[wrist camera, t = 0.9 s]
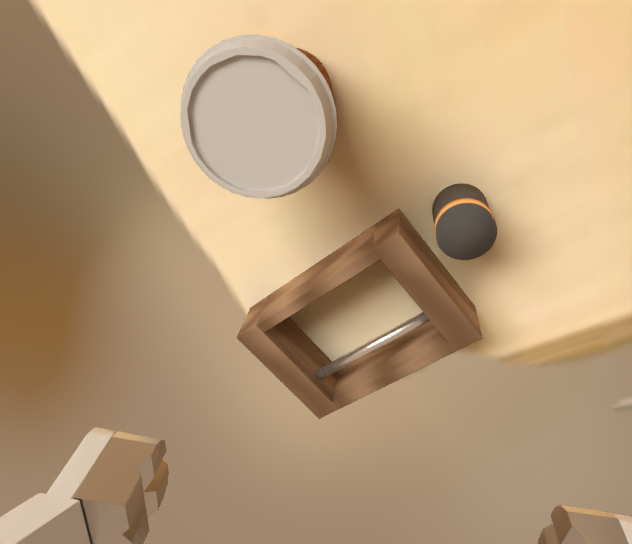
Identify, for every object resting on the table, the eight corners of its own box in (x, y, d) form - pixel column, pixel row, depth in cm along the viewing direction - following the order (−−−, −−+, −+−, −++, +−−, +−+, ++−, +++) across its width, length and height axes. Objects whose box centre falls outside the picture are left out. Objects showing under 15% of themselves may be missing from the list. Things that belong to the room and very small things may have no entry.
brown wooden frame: (398, 208, 42) (398, 233, 38) (474, 305, 46) (482, 338, 41) (250, 307, 49) (236, 337, 45) (325, 384, 53) (319, 418, 49)
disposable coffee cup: (368, 128, 39) (357, 178, 29) (262, 166, 42) (217, 223, 32) (326, 1, 35) (296, 6, 25) (212, 52, 38) (142, 75, 28)
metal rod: (438, 300, 42) (439, 307, 42) (444, 308, 43) (445, 315, 42) (308, 372, 49) (306, 379, 48) (314, 379, 49) (312, 386, 48)
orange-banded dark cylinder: (468, 172, 40) (476, 194, 35) (497, 213, 41) (509, 240, 37) (421, 203, 42) (423, 228, 37) (450, 242, 43) (456, 270, 39)
